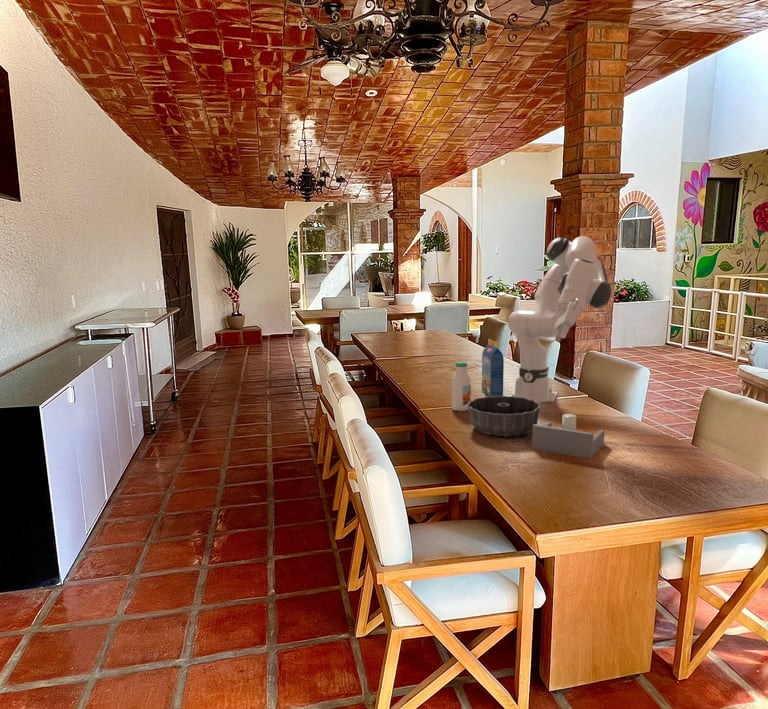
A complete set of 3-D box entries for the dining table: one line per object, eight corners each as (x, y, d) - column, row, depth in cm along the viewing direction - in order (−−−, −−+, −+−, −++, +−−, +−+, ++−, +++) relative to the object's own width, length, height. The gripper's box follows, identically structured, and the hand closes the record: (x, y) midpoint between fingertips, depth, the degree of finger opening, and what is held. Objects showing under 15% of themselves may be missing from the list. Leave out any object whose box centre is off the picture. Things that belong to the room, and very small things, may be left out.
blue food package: (490, 397, 253) (490, 342, 248) (481, 391, 264) (482, 338, 260) (503, 396, 254) (504, 342, 249) (494, 390, 265) (495, 338, 261)
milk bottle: (456, 412, 231) (456, 364, 227) (449, 407, 238) (449, 361, 234) (473, 410, 233) (473, 363, 229) (465, 405, 240) (466, 359, 236)
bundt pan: (451, 430, 208) (451, 403, 207) (497, 415, 225) (497, 391, 223) (509, 447, 188) (510, 418, 187) (554, 430, 205) (555, 404, 203)
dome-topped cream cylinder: (563, 437, 191) (564, 413, 189) (577, 439, 189) (578, 415, 187) (559, 441, 187) (560, 416, 186) (573, 443, 185) (574, 418, 183)
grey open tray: (547, 434, 200) (548, 413, 199) (603, 444, 190) (604, 421, 188) (532, 448, 187) (532, 425, 185) (591, 459, 176) (592, 434, 175)
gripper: (587, 299, 188) (575, 338, 187) (574, 310, 208) (562, 345, 207) (569, 293, 189) (556, 332, 188) (557, 305, 209) (546, 340, 208)
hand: (559, 339), depth 198 cm, fingers open, 8 cm apart
